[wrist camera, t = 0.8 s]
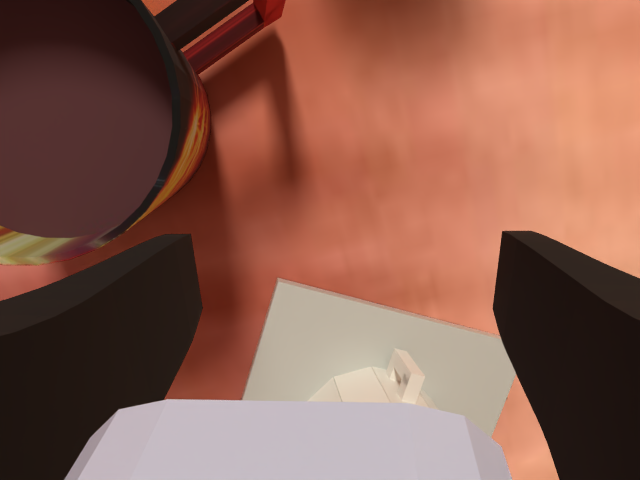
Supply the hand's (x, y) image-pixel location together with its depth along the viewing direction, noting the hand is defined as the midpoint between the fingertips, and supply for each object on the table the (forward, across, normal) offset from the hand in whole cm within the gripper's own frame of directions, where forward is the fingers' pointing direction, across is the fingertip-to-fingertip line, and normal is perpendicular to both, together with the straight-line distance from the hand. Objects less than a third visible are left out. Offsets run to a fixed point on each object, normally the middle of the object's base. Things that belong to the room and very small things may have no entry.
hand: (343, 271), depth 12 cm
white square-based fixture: (+13, -1, +18) cm, 23 cm away
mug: (+16, +11, -2) cm, 20 cm away
